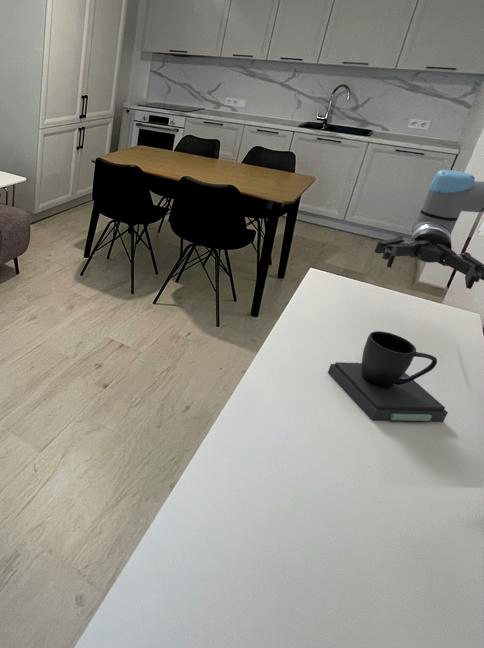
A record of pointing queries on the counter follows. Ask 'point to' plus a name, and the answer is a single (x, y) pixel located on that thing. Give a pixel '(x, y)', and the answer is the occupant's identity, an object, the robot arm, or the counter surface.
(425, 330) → the counter surface
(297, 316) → the counter surface
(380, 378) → the mug
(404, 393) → the scale
